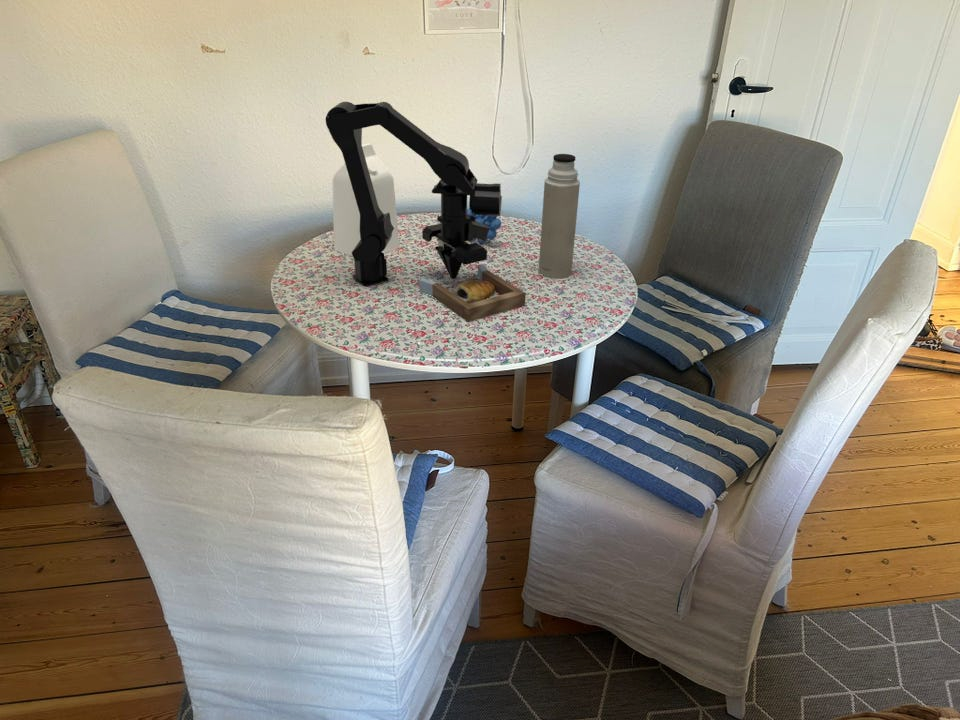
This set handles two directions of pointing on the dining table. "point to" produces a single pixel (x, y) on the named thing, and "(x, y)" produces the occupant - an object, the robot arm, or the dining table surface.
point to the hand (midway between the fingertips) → (453, 278)
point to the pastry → (474, 291)
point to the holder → (469, 312)
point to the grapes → (487, 224)
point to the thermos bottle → (559, 218)
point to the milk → (347, 209)
